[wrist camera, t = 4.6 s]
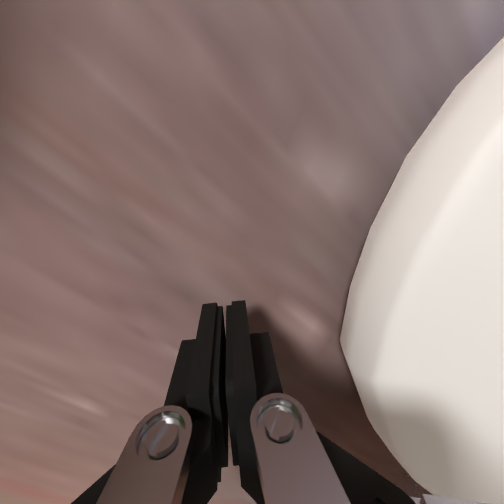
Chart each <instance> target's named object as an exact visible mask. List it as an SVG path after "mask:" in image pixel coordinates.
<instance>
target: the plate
mask: <svg viewBox="0 0 504 504" xmlns="http://www.w3.org/2000/svg"><path fill="white" fill-rule="evenodd" d="M340 343H341V346H342V350H343V353H344V356H345V358H346V361H347V364H348V367H349V369H350V372H351V375H352V377H353V380H354V383H355V386H356V388H357V391H358V394H359V396H360V399H361V402H362V405H363V407H364V410H365V413H366V415H367V418H368V420H369V421H370V423H371V425H372V427H373V428H374V430H375V431H376V433H377V434H378V435H379V437H380V438H381V440H382V441H383V442H384V444H385V445H386V446H387V448H388V449H389V450H390V452H391V453H392V455H393V456H394V457H395V459H396V460H397V461H398V462H399V463H400V464H401V466H402V467H403V468H404V469H405V470H406V471H407V473H408V474H409V475H410V476H411V477H412V478H413V480H414V481H416V482H417V483H418V484H420V485H421V486H422V487H423V488H425V489H426V490H427V491H429V492H430V493H431V494H433V495H435V496H441V497H448V498H454V499H461V500H467V501H474V502H480V503H487V504H504V37H503V38H502V39H501V40H500V41H499V42H498V43H497V44H496V45H495V46H494V48H493V49H492V50H491V51H490V52H489V53H488V54H487V55H486V56H485V57H484V58H483V59H482V60H481V61H480V62H479V63H478V64H477V65H476V66H475V67H474V68H473V69H472V70H471V71H470V72H469V73H468V75H467V76H466V77H465V78H464V79H463V80H462V81H461V82H460V83H459V84H458V85H457V86H456V87H455V89H454V90H453V92H452V93H451V94H450V96H449V97H448V99H447V100H446V101H445V103H444V104H443V106H442V107H441V108H440V110H439V111H438V113H437V114H436V116H435V117H434V118H433V120H432V121H431V123H430V124H429V125H428V127H427V128H426V130H425V131H424V132H423V134H422V135H421V137H420V138H419V139H418V141H417V142H416V144H415V145H414V146H413V148H412V149H411V151H410V152H409V153H408V155H407V156H406V158H405V160H404V162H403V164H402V166H401V168H400V170H399V172H398V174H397V176H396V178H395V180H394V182H393V184H392V186H391V188H390V190H389V192H388V194H387V196H386V198H385V200H384V202H383V204H382V206H381V208H380V210H379V212H378V214H377V216H376V218H375V220H374V222H373V224H372V226H371V228H370V230H369V233H368V236H367V239H366V242H365V245H364V247H363V250H362V253H361V256H360V259H359V262H358V265H357V268H356V270H355V273H354V276H353V279H352V282H351V285H350V289H349V294H348V299H347V305H346V310H345V315H344V320H343V326H342V331H341V336H340Z"/></svg>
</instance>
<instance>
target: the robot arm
mask: <svg viewBox="0 0 504 504" xmlns="http://www.w3.org/2000/svg"><path fill="white" fill-rule="evenodd" d="M228 419H229V428H230V438H231V447H232V456H233V465H234V466H236V465H239V467H240V478H241V487H242V488H243V489H244V490H245V491H246V492H247V493H248V494H249V495H250V496H251V497H252V498H253V499H254V500H255V501H256V504H487V503H480V502H474V501H467V500H461V499H454V498H448V497H441V496H435V495H428V494H422V497H421V498H416V497H409V496H408V495H407V494H406V493H404V492H403V491H402V490H401V489H400V488H398V487H397V486H395V485H394V484H392V483H391V482H390V481H388V480H387V479H385V478H384V477H382V476H381V475H379V474H378V473H377V472H375V471H374V470H372V469H371V468H369V467H368V466H366V465H365V464H363V463H362V462H361V461H359V460H358V459H356V458H355V457H353V456H352V455H350V454H349V453H348V452H346V451H345V450H343V449H342V448H340V447H339V446H337V445H336V444H335V443H333V442H332V441H330V440H329V439H327V438H326V437H324V436H323V435H321V434H320V433H319V432H317V431H316V430H315V429H314V426H313V424H312V422H311V420H310V418H309V416H308V414H307V412H306V410H305V409H304V407H303V406H302V404H301V403H300V402H298V401H297V400H296V399H295V398H293V397H291V396H289V395H287V394H283V391H282V387H281V383H280V379H279V375H278V371H277V367H276V363H275V358H274V354H273V350H272V346H271V342H270V338H269V334H268V332H264V333H254V334H249V326H248V318H247V311H246V303H245V300H244V301H233V302H232V305H229V306H227V310H226V336H225V326H224V316H223V307H222V306H217V303H210V304H203V305H202V310H201V315H200V321H199V326H198V331H197V336H196V339H192V340H183V341H182V342H181V345H180V349H179V353H178V356H177V360H176V364H175V367H174V371H173V374H172V378H171V382H170V385H169V389H168V393H167V396H166V400H165V404H164V406H163V407H161V408H158V409H155V410H154V411H152V412H151V413H149V414H148V415H146V416H145V417H144V418H143V419H142V420H141V421H140V422H139V423H138V424H137V426H136V427H135V429H134V430H133V432H132V434H131V436H130V438H129V439H128V441H127V443H126V445H125V447H124V449H123V451H122V453H121V455H120V457H119V459H118V461H117V463H116V464H115V465H114V466H113V467H112V468H111V469H110V470H109V471H107V472H106V473H105V474H104V475H103V476H102V477H101V478H99V479H98V480H97V481H96V482H95V483H94V484H93V485H92V486H90V487H89V488H88V489H87V490H86V491H85V492H84V493H82V494H81V495H80V496H79V497H78V498H77V499H76V500H75V501H73V502H72V503H71V504H207V503H208V502H209V500H210V499H211V498H212V496H213V495H214V493H215V492H216V491H217V482H221V468H222V467H228Z"/></svg>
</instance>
